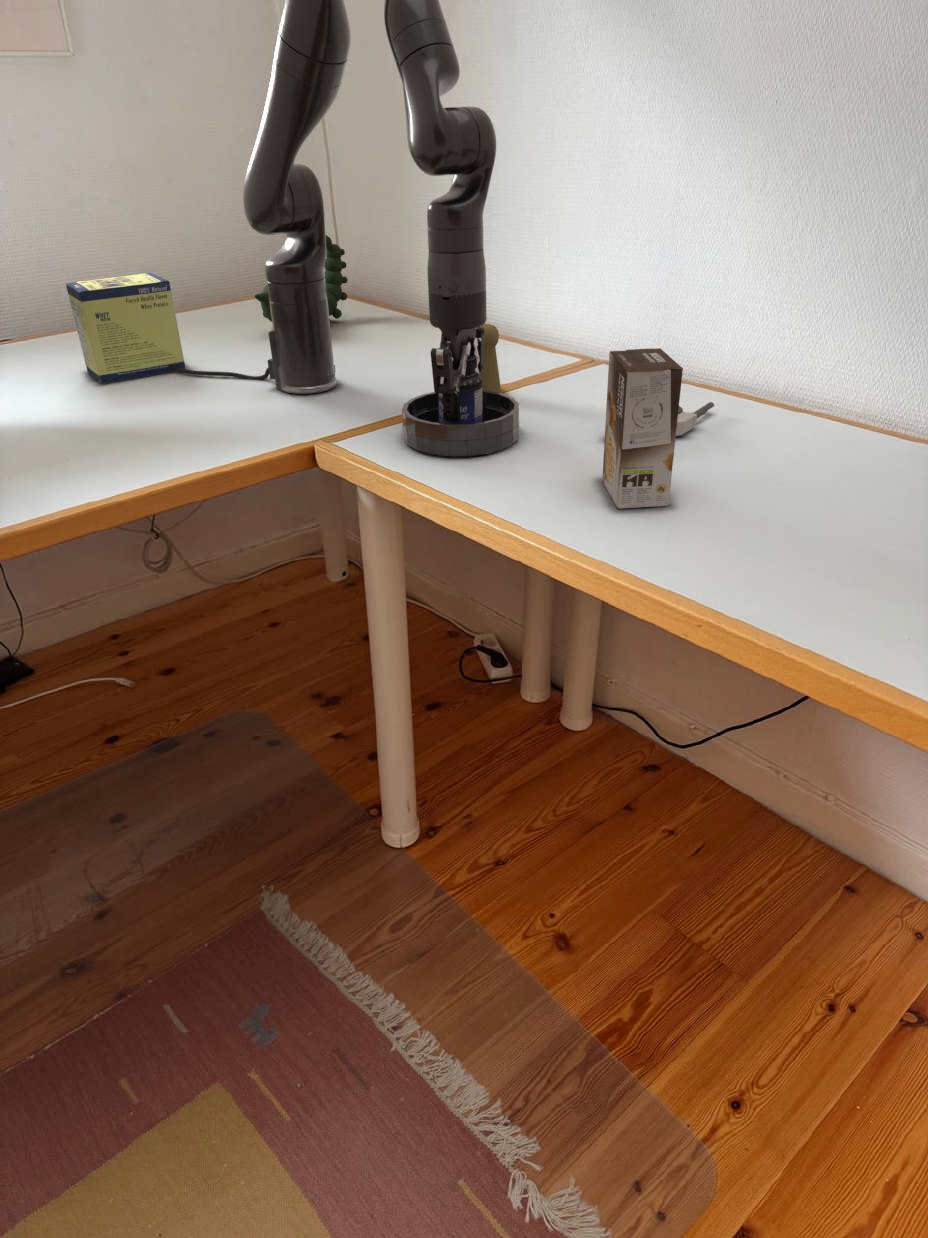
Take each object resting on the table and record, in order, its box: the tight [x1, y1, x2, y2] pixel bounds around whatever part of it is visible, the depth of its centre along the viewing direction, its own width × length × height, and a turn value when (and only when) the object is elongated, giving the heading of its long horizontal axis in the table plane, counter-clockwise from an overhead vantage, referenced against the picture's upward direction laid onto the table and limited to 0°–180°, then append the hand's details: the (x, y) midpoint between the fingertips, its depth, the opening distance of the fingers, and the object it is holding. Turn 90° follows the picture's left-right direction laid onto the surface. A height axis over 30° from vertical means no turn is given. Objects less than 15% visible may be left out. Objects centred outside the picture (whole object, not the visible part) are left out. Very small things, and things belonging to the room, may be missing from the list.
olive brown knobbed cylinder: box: [479, 323, 502, 393], centre depth 135 cm, size 6×6×11 cm
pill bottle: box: [438, 355, 482, 424], centre depth 118 cm, size 6×6×11 cm
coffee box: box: [601, 347, 684, 510], centre depth 99 cm, size 9×6×16 cm
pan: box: [401, 390, 520, 458], centre depth 120 cm, size 16×16×5 cm
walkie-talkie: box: [676, 401, 715, 437], centre depth 121 cm, size 9×4×20 cm
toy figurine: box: [254, 234, 348, 325], centre depth 176 cm, size 9×19×25 cm
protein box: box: [65, 272, 187, 385], centre depth 152 cm, size 10×16×16 cm
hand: (460, 412), depth 119 cm, fingers closed on pill bottle, 6 cm apart
